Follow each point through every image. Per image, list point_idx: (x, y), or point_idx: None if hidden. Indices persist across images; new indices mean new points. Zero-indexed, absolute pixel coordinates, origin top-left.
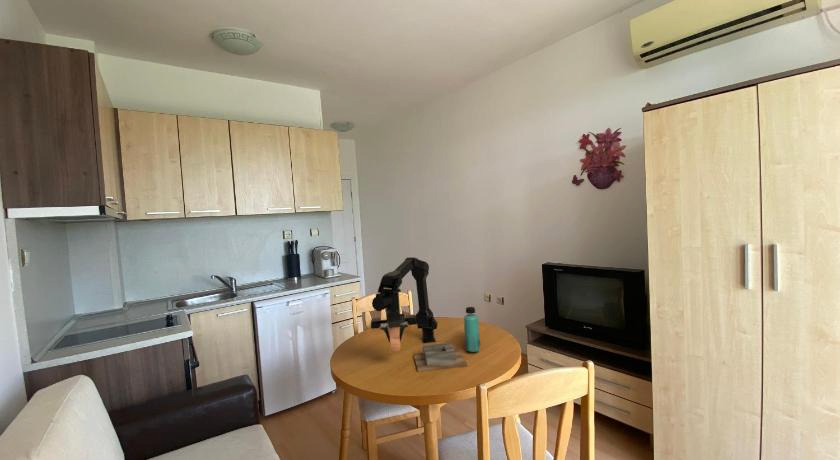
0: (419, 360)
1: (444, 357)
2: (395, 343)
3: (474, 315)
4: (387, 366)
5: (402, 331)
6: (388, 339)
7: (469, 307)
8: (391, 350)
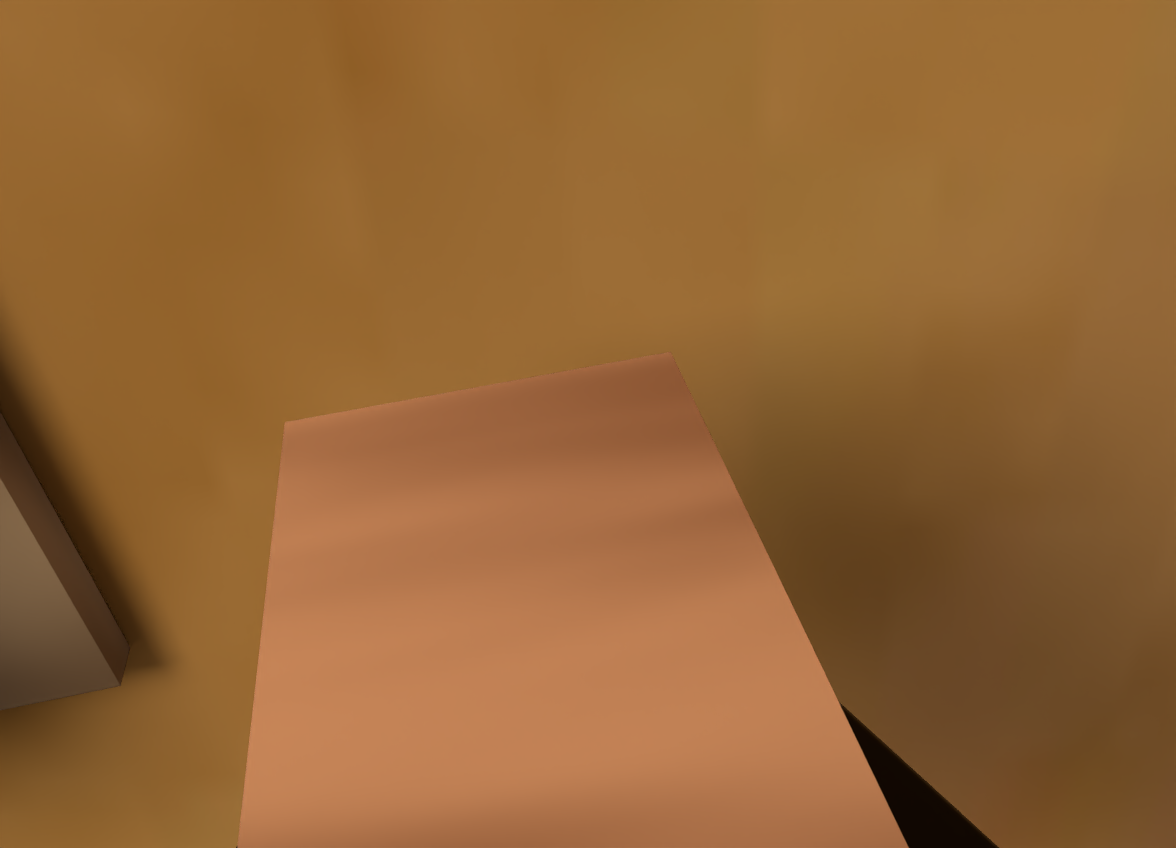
0: None
1: None
2: (502, 595)
3: None
4: (677, 199)
5: None
6: (905, 783)
7: None
8: (650, 368)
